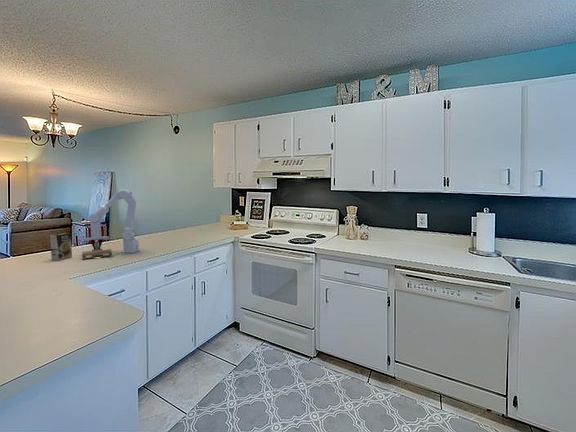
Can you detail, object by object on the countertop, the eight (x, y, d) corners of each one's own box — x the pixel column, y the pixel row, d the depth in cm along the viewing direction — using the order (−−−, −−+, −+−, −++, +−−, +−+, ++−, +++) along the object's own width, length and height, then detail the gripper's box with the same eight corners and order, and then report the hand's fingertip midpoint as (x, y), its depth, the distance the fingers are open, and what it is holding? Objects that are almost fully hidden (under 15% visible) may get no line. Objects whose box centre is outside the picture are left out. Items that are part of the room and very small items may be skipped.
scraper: (92, 253, 208) (91, 242, 207) (102, 252, 211) (101, 242, 210) (91, 258, 195) (91, 247, 194) (102, 256, 198) (102, 246, 197)
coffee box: (59, 260, 188) (57, 235, 186) (51, 259, 189) (49, 234, 187) (72, 257, 197) (71, 232, 195) (64, 256, 198) (62, 232, 196)
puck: (103, 257, 197) (103, 256, 196) (98, 259, 192) (98, 258, 191) (97, 257, 197) (97, 255, 197) (91, 259, 192) (90, 257, 192)
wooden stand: (82, 257, 195) (82, 251, 194) (111, 254, 203) (111, 249, 203) (82, 260, 189) (82, 254, 189) (111, 257, 198) (111, 251, 197)
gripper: (108, 229, 213) (109, 248, 214) (83, 231, 205) (84, 250, 207) (108, 230, 207) (109, 250, 209) (83, 232, 199) (84, 252, 201)
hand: (97, 250), depth 207 cm, fingers closed on scraper, 2 cm apart
